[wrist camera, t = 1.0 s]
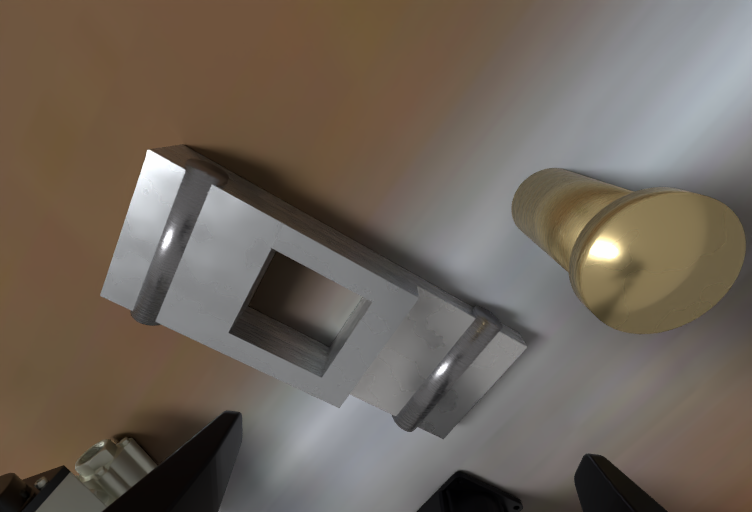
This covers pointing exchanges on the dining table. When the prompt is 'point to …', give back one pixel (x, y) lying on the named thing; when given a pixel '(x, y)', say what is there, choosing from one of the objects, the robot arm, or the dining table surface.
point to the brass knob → (633, 247)
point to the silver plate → (321, 254)
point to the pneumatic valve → (79, 481)
